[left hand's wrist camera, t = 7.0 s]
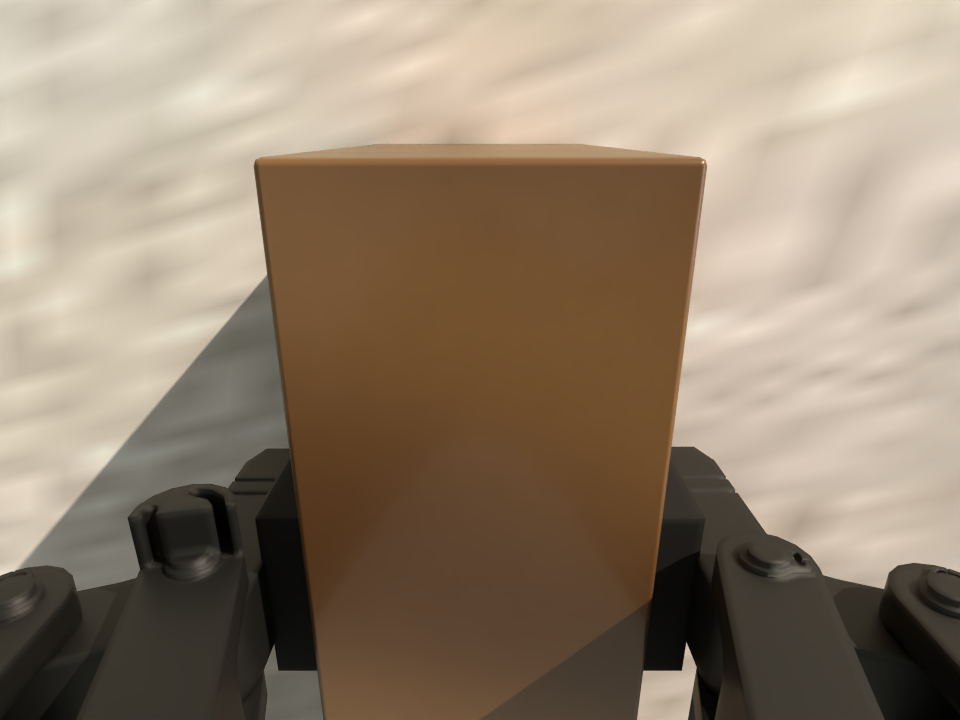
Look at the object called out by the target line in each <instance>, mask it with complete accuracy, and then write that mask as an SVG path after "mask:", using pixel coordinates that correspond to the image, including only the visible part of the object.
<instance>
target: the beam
mask: <svg viewBox="0 0 960 720" xmlns="http://www.w3.org/2000/svg"><path fill="white" fill-rule="evenodd" d="M706 170H707V164H706V161H705V160H704V159H702V158H700V157H692V156H683V155H674V154H665V153H656V152H647V151H638V150H629V149H620V148H611V147H603V146H594V145H585V144H376V145H367V146H358V147H349V148H340V149H331V150H322V151H313V152H304V153H295V154H287V155H278V156H269V157H261V158H259V159H256V160H255V163H254V172H255V180H256V188H257V196H258V204H259V212H260V220H261V228H262V235H263V243H264V251H265V259H266V267H267V275H268V283H269V291H270V299H271V307H272V315H273V323H274V331H275V338H276V346H277V354H278V362H279V370H280V378H281V386H282V394H283V402H284V410H285V418H286V426H287V434H288V442H289V449H290V457H291V465H292V473H293V481H294V489H295V497H296V505H297V513H298V521H299V529H300V537H301V545H302V553H303V560H304V568H305V576H306V584H307V592H308V600H309V608H310V616H311V624H312V632H313V640H314V648H315V656H316V663H317V671H318V679H319V687H320V695H321V703H322V711H323V719H324V720H637V715H638V707H639V699H640V691H641V683H642V675H643V667H644V659H645V651H646V644H647V636H648V628H649V620H650V612H651V604H652V596H653V588H654V580H655V573H656V565H657V557H658V549H659V541H660V533H661V525H662V517H663V509H664V502H665V494H666V486H667V478H668V470H669V462H670V454H671V446H672V438H673V431H674V423H675V415H676V407H677V399H678V391H679V383H680V375H681V367H682V359H683V352H684V344H685V336H686V328H687V320H688V312H689V304H690V296H691V288H692V281H693V273H694V265H695V257H696V249H697V241H698V233H699V225H700V217H701V210H702V202H703V194H704V186H705V178H706Z"/></svg>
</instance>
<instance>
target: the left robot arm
mask: <svg viewBox="0 0 960 720" xmlns="http://www.w3.org/2000/svg"><path fill="white" fill-rule="evenodd" d="M128 521H129V525H130V529H131V533H132V538H133V542H134V546H135V550H136V554H137V558H138V562H139V566H140V571H139V574H138V576H137V578H135V579H132V580H128V581H124V582H120V583H116V584H111V585H106V586H102V587H97V588H92V589H87V590H83V591H78V592H77V590H76V587H75V583H74V580H73V576H72V575H71V574H70V573H69V572H67V571H66V570H65V569H64V568H59V567H53V566H39V567H30V568H24V569H20V570H16V571H15V572H13V571H12V572H9V573H7V574H4V575H1V576H0V720H265V713H266V703H267V688H266V681H265V675H264V668H265V665H266V663H267V660H268V658H269V655H270V653H271V650H272V648H273V645H274V644H275V651H276V657H277V663H278V670H279V671H317V663H316V656H315V648H314V640H313V632H312V624H311V616H310V608H309V600H308V592H307V584H306V576H305V568H304V560H303V553H302V545H301V537H300V529H299V521H298V513H297V505H296V497H295V489H294V481H293V473H292V465H291V457H290V449H266V450H264V451H263V452H261V453H260V454H258V455H257V456H255V457H254V458H252V459H251V460H249V461H248V462H246V464H245V465H244V467H243V468H242V469H241V471H240V472H239V474H238V475H237V476H236V478H235V482H232V484H231V485H230V486H229V488H228V489H227V488H226V487H222V486H217V485H213V484H192V485H187V486H182V487H177V488H173V489H170V490H167V491H165V492H162V493H160V494H157V495H155V496H153V497H151V498H150V499H148V500H146V501H145V502H143V503H142V504H140V505H139V506H137V507H136V509H135V510H134V511H133V512H132V513H131V514H130V516H129V517H128ZM686 642H687V644H688V647H689V649H690V651H691V654H692V656H693V659H694V661H695V664H696V666H697V669H696V675H695V681H694V687H693V693H692V699H691V705H690V711H689V717H688V720H960V573H959V572H957V571H954V570H951V569H946V568H944V567H939V566H936V565H927V564H919V563H911V564H905V565H898V566H897V567H896V568H894V569H893V570H892V571H891V572H889V575H888V578H887V581H886V585H885V588H884V589H881V588H876V587H871V586H866V585H862V584H857V583H852V582H847V581H843V580H838V579H835V578H831V577H827V576H824V575H822V572H821V570H820V568H819V567H818V565H817V564H816V563H815V561H814V560H813V559H812V557H811V556H810V555H809V554H807V553H806V552H805V551H803V550H802V549H801V548H799V547H798V546H796V545H795V544H792V543H790V542H788V541H786V540H784V539H781V538H779V537H777V536H772V535H768V534H766V532H765V531H764V530H763V528H762V527H761V525H760V524H759V523H758V521H757V520H756V518H755V517H754V516H753V514H752V513H751V511H750V510H749V509H748V507H747V506H746V504H745V503H744V501H743V500H742V499H741V497H740V496H739V494H738V493H735V489H734V487H733V486H732V485H731V483H730V482H729V480H726V476H725V475H724V473H723V472H722V471H721V469H720V468H719V466H718V465H717V464H716V462H715V461H714V460H713V459H711V458H710V457H708V456H707V455H705V454H704V453H702V452H701V451H699V450H698V449H696V448H695V447H671V454H670V462H669V470H668V478H667V486H666V494H665V502H664V509H663V517H662V525H661V533H660V541H659V549H658V557H657V565H656V573H655V580H654V588H653V596H652V604H651V612H650V620H649V628H648V636H647V644H646V651H645V659H644V667H643V671H682V666H683V659H684V653H685V647H686Z"/></svg>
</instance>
